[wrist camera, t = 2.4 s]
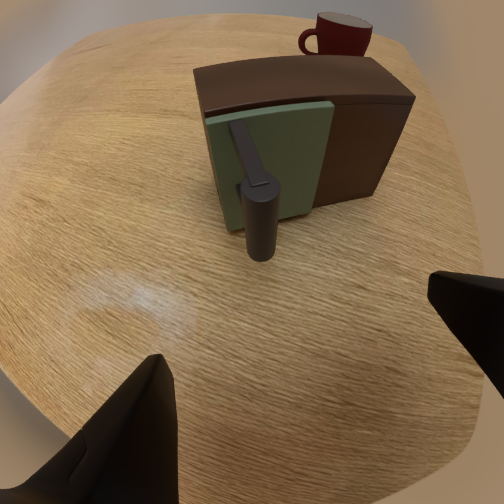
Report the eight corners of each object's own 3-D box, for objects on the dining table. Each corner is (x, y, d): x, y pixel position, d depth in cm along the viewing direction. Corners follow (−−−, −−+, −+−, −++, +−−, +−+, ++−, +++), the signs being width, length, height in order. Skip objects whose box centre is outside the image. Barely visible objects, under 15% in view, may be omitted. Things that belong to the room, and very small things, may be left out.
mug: (304, 82, 34) (310, 22, 25) (291, 61, 37) (294, 9, 28) (369, 86, 34) (382, 31, 25) (350, 64, 37) (358, 16, 29)
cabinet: (372, 195, 24) (416, 96, 14) (226, 227, 23) (203, 112, 13) (346, 152, 27) (371, 57, 17) (213, 176, 26) (192, 68, 15)
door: (334, 270, 20) (386, 175, 11) (243, 294, 20) (227, 207, 10) (308, 207, 23) (330, 100, 13) (226, 225, 22) (204, 118, 13)
